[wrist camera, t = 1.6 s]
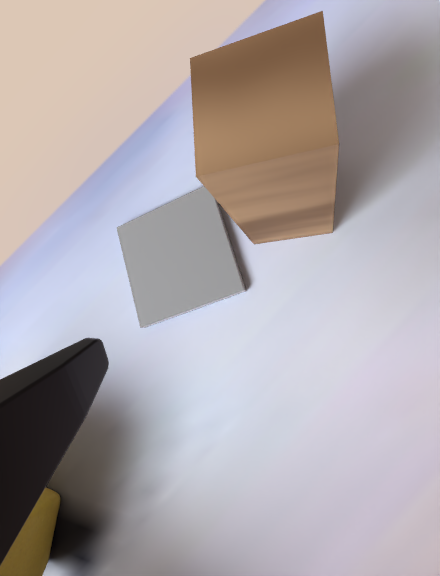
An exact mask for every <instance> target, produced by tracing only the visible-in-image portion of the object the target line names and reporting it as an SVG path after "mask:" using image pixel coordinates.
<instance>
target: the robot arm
mask: <svg viewBox="0 0 440 576" xmlns="http://www.w3.org/2000/svg"><path fill="white" fill-rule="evenodd" d="M108 365H109V361H108V358H107V354H106V351H105V348H104V345H103V342H102V341H101V340H100V339H96V338H85V339H83V340H81V341H79V342H77V343H75V344H73V345H71V346H69V347H67V348H64V349H62V350H60V351H58V352H56V353H54V354H52V355H50V356H48V357H46V358H44V359H42V360H40V361H38V362H36V363H34V364H32V365H29V366H27V367H25V368H23V369H21V370H19V371H17V372H15V373H13V374H11V375H9V376H7V377H5V378H3V379H1V380H0V566H1V564H2V562H3V561H4V559H5V557H6V555H7V554H8V552H9V550H10V548H11V547H12V545H13V543H14V541H15V540H16V538H17V536H18V534H19V533H20V531H21V529H22V527H23V526H24V524H25V522H26V520H27V519H28V517H29V515H30V514H31V512H32V510H33V508H34V507H35V505H36V503H37V501H38V500H39V498H40V496H41V494H42V493H43V491H44V489H45V487H46V486H47V484H48V482H49V480H50V479H51V477H52V475H53V473H54V472H55V470H56V468H57V466H58V465H59V463H60V461H61V460H62V458H63V456H64V454H65V453H66V451H67V449H68V447H69V446H70V444H71V442H72V440H73V439H74V437H75V435H76V433H77V432H78V430H79V428H80V426H81V425H82V423H83V421H84V419H85V417H86V415H87V413H88V411H89V409H90V407H91V405H92V403H93V400H94V398H95V396H96V394H97V392H98V389H99V387H100V385H101V383H102V380H103V378H104V376H105V374H106V372H107V369H108Z"/></svg>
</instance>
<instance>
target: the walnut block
mask: <svg viewBox="0 0 440 576" xmlns="http://www.w3.org/2000/svg"><path fill="white" fill-rule="evenodd" d="M190 65H191V86H192V106H193V126H194V146H195V166H196V177H197V178H198V179H199V181H200V182H201V183H202V184H203V185H204V186H205V188H206V189H207V190H208V191H209V192H210V193H211V195H212V196H213V197H214V198H215V199H216V200H217V202H218V203H219V204H220V205H221V206H222V207H223V209H224V210H225V211H226V212H227V213H228V214H229V216H230V217H231V218H232V219H233V220H234V221H235V223H236V224H237V225H238V226H239V227H240V229H241V230H242V231H243V232H244V233H245V234H246V236H247V237H248V238H249V239H250V240H251V241H252V243H253V244H260V243H266V242H273V241H280V240H287V239H294V238H300V237H307V236H314V235H321V234H327V233H333V219H334V206H335V192H336V179H337V165H338V152H339V139H338V131H337V123H336V115H335V107H334V99H333V91H332V83H331V75H330V67H329V59H328V50H327V42H326V34H325V26H324V18H323V11H321V12H318V13H315V14H313V15H310V16H307V17H304V18H301V19H299V20H296V21H293V22H290V23H287V24H285V25H282V26H279V27H276V28H273V29H271V30H268V31H265V32H262V33H259V34H257V35H254V36H251V37H248V38H245V39H243V40H240V41H237V42H234V43H231V44H229V45H226V46H223V47H220V48H217V49H215V50H212V51H209V52H206V53H204V54H201V55H198V56H195V57H192V58H190Z"/></svg>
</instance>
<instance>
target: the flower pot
mask: <svg viewBox="0 0 440 576" xmlns="http://www.w3.org/2000/svg"><path fill="white" fill-rule="evenodd" d="M59 505H60V496H59V494H58V493H57V492H55V491H53V490H51V489H48V488H46V487H45V489H44V491H43V493H42V494H41V496H40V498H39V500H38V501H37V503H36V505H35V507H34V508H33V510H32V512H31V514H30V515H29V517H28V519H27V520H26V522H25V524H24V526H23V527H22V529H21V531H20V533H19V534H18V536H17V538H16V540H15V541H14V543H13V545H12V547H11V548H10V550H9V552H8V554H7V555H6V557H5V559H4V561H3V562H2V564H1V566H0V576H42V575H43V572H44V570H45V568H46V565H47V563H48V560H49V554H50V549H51V544H52V539H53V534H54V529H55V524H56V519H57V514H58V510H59Z"/></svg>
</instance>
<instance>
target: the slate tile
mask: <svg viewBox="0 0 440 576" xmlns="http://www.w3.org/2000/svg"><path fill="white" fill-rule="evenodd" d="M117 232H118V236H119V240H120V244H121V248H122V252H123V257H124V261H125V265H126V269H127V273H128V278H129V282H130V286H131V290H132V294H133V298H134V303H135V307H136V311H137V315H138V319H139V323H140V328H145V327H148V326H151V325H154V324H157V323H159V322H162V321H165V320H168V319H170V318H173V317H176V316H179V315H181V314H184V313H187V312H190V311H193V310H195V309H198V308H201V307H204V306H206V305H209V304H212V303H215V302H217V301H220V300H223V299H226V298H229V297H231V296H234V295H237V294H240V293H242V292H245V291H246V289H245V286H244V283H243V280H242V277H241V273H240V270H239V267H238V264H237V261H236V258H235V255H234V252H233V249H232V246H231V243H230V240H229V236H228V233H227V230H226V227H225V224H224V221H223V218H222V215H221V212H220V209H219V206H218V203H217V200H216V199H215V198H214V197H213V196H212V195H211V193H210V192H209V191H208V190H207V189H206V188H205V186H203V187H201V188H199V189H197V190H195V191H193V192H191V193H189V194H187V195H184V196H182V197H180V198H178V199H176V200H174V201H172V202H170V203H168V204H166V205H163V206H161V207H159V208H157V209H155V210H153V211H151V212H149V213H147V214H144V215H142V216H140V217H138V218H136V219H134V220H132V221H130V222H128V223H126V224H123V225H121V226H119V227H117Z"/></svg>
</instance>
